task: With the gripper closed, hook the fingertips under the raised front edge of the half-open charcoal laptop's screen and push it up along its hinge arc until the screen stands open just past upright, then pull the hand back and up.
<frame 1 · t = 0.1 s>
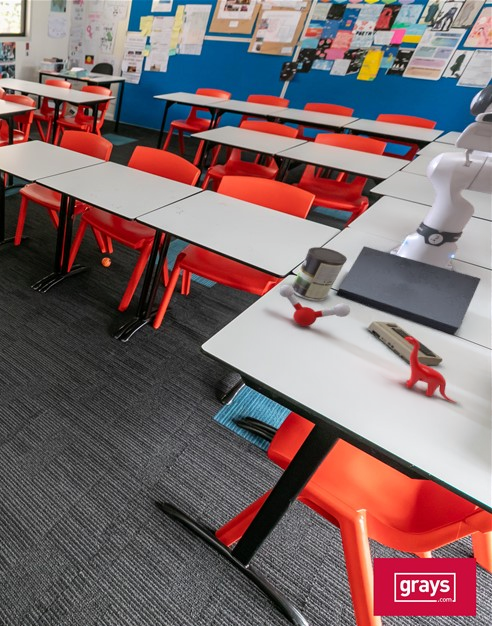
hand: (486, 170, 124), 39 cm above the table, tool pointing down, fingers open, 8 cm apart
dinosaur: (415, 389, 102), on the table
coffee can: (308, 293, 138), on the table
molecular model: (300, 324, 123), on the table
laptop screen: (406, 284, 131), point 7 cm above the table, hinge at 25.0°
computer: (400, 347, 116), on the table
laptop: (395, 300, 136), on the table
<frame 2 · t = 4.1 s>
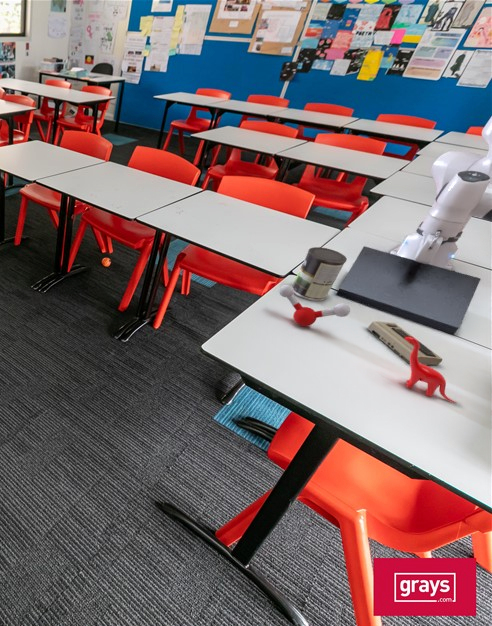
hand: (415, 266, 137), 9 cm above the table, tool pointing down, fingers closed
laptop screen: (406, 284, 131), point 7 cm above the table, hinge at 25.0°, touching gripper
everything else where it was.
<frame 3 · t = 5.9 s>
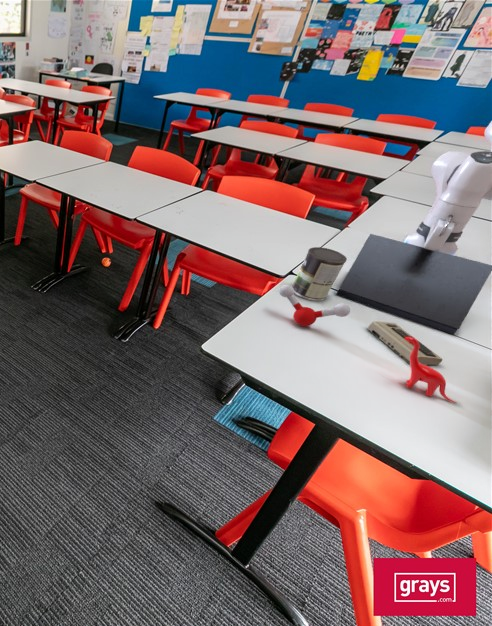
hand: (425, 253, 130), 15 cm above the table, tool pointing down, fingers closed, pressing on laptop screen
laptop screen: (411, 278, 128), point 10 cm above the table, hinge at 45.6°, touching gripper
everything else where it was.
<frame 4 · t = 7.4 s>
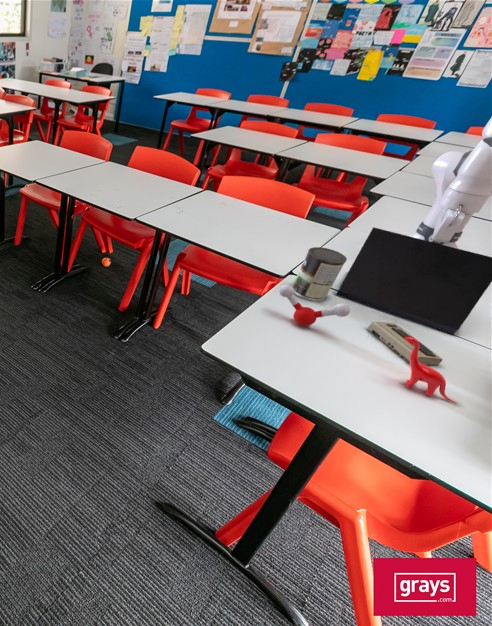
hand: (431, 247, 123), 20 cm above the table, tool pointing down, fingers closed
laptop screen: (413, 276, 124), point 12 cm above the table, hinge at 71.6°, touching gripper
everything else where it was.
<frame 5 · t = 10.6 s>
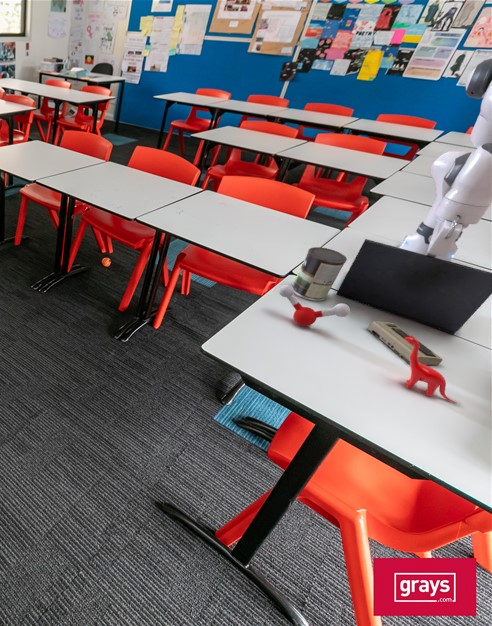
hand: (427, 259, 115), 20 cm above the table, tool pointing down, fingers closed
laptop screen: (411, 285, 120), point 12 cm above the table, hinge at 107.2°, touching gripper
everything else where it was.
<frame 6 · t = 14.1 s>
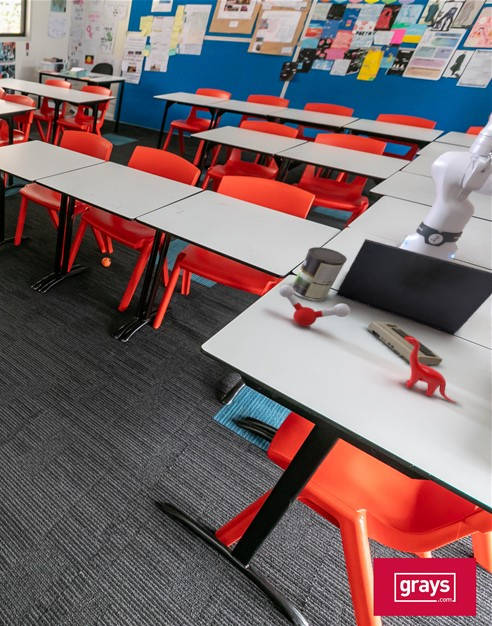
hand: (460, 199, 119), 33 cm above the table, tool pointing down, fingers closed
laptop screen: (411, 285, 120), point 12 cm above the table, hinge at 107.2°
everything else where it was.
at the end: laptop screen at +107° (first picture: +25°) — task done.
